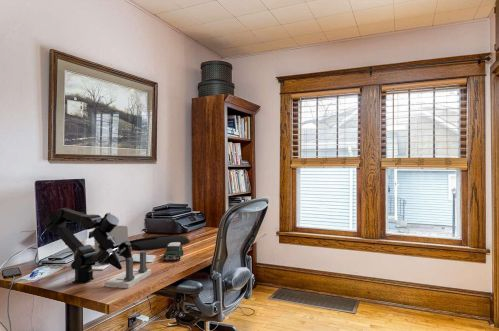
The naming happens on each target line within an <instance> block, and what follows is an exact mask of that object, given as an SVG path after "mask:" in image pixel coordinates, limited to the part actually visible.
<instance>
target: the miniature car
mask: <svg viewBox="0 0 499 331" xmlns="http://www.w3.org/2000/svg"><path fill="white" fill-rule="evenodd" d="M164 251H165V252H164V253H163V257H162V258H163V259H162V261H163V262H166V261H167V260H176V261H178V262H180V261H181V258H182V256H183V255H184V249H183V245H181V243H179V242H173V243H169V244H168V246H167V248H165V250H164Z"/></svg>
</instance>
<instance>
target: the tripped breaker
mask: <svg viewBox="0 0 499 331" xmlns="http://www.w3.org/2000/svg"><path fill="white" fill-rule="evenodd" d="M133 268H134V257H132V258H131V257H130V258H127V259H125V271H126V277H125V278H124V280H126V281H131V280H132V279H134V278H135V276H133Z"/></svg>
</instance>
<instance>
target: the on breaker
mask: <svg viewBox="0 0 499 331" xmlns="http://www.w3.org/2000/svg"><path fill="white" fill-rule="evenodd" d="M138 269H139V270H138V272H145V271H147V270H148V269H149V268H148V267H147V250H144V251H140V252H139V268H138Z"/></svg>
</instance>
